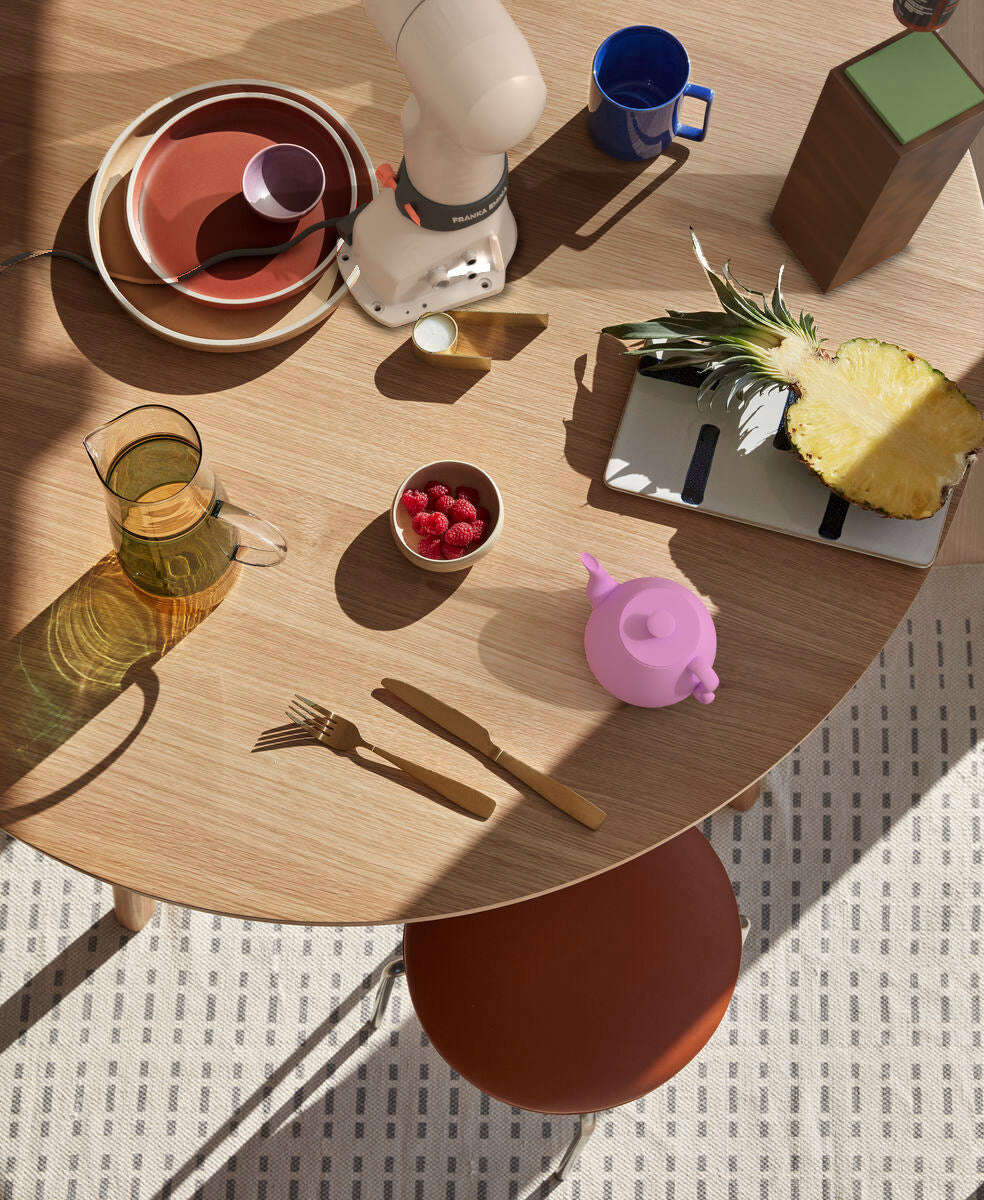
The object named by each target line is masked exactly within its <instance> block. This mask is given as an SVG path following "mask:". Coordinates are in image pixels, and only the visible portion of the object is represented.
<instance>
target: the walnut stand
mask: <svg viewBox="0 0 984 1200" xmlns="http://www.w3.org/2000/svg"><path fill="white" fill-rule="evenodd" d="M913 32H915V31H913V30H910V29H908V28H907V27H906V29H903V30H902V31H900V32H898V33H895V34H894V35H892V36H891V37H888V38H887V39H885V40H883V41H881V42H879V43H877V44H876V45H874V46H872V47H870V48H868V49H866V50H865V51H863V52H860V53H859V54H857V55H855V56H853V57H851V58H849V59H847V60H846V61H844V62H842V63H840V64H838V65H836V66H834V67H832V68H830V70H829V71H828V75H827V77H826V79H825V82H824V83H823V86H822V89H821V91H820V94H819V95H818V98H817V100H816V101H817V102H816V103H815V106H814V109H813V111H812V112H811V113H812V114H811V116H810V118H809V121H808V123H807V126H806V128H805V130H804V132H803V136H802V137H801V140H800V143H799V145H798V148H797V150H796V153H795V154H794V157H793V160H792V163H791V165H790V167H789V170H788V172H787V175H786V177H785V180H784V182H783V185H782V187H781V190H780V192H779V194H778V197H777V200H776V202H775V205H774V207H773V209H772V212H771V214H770V217H769V219H768V220H769V222H770V223H771V224H772V226H773V227H774V229H775V230H776V231H777V233H778V234H779V235H780V236H781V239H783V240H784V242H785V243H786V244H787V246H788V247H789V249H790V250H791V251H792V252H793V254H794V255H795V256H796V257H797V259H798V261H800V264H801V265H802V266H803V267H804V268H805V269H806V271H807V272H808V274H809V275H810V276H811V277H812V279H813V280H814V281H815V283H816V284H817V285H818V287H819V289H821V291H822V292H823V294H824V295H826V294H828V293H829V292H831V291H833V290H836V289H837V288H838V287H840V286H842V285H844V284H845V283H847V282H849V281H851V280H853V279H854V278H856V277H858V276H860V275H861V274H863V273H865V272H867V271H869V270H870V269H872V268H874V267H875V266H877V265H879V264H881V263H884V261H886V260H888V259H890V258H892V257H893V256H895V255H897V254H899V253H900V252H902V251H904V250H905V249H906V248H907V246H908V245H909V243H910V241H912V239H913V237H914V236H915V234H916V232H917V231H918V229H919V227H920V226H921V224H922V223H923V222H924V219H925V218H926V216H927V215H928V213H929V212H930V210H931V209H932V207H933V206H934V204H935V202H936V200H937V199H938V198H939V196H940V195H941V193H942V191H944V188H945V187H946V186H947V184H948V182H949V180H950V179H951V177H952V176H953V174H954V173H955V171H956V170H957V168H958V166H959V165H960V163H961V161H962V160H963V159H964V157H965V155H966V154H967V152H968V150H969V149H970V148H971V146H972V144H973V143H974V141H975V140H976V138H977V137H978V135H979V133H980V132H981V130H982V129H983V127H984V100H983V101H982V102H980V103H978V104H976V105H975V106H973V107H971V108H969V109H967V110H965V111H964V112H962V113H960V114H958V115H956V116H955V117H953V118H951V119H949V120H947V121H946V122H944V123H942V124H940V125H938V126H936V127H935V128H933V129H931V130H929V131H927V132H926V133H924V134H922V135H920V136H918V137H916V138H915V139H913V140H911V141H909V142H907V143H906V144H904V145H902V144H901V142H900V141H899V140H898V139H897V137H896V136H895V135H894V134H893V132H892V131H891V130H890V129H889V127H888V126H887V125H886V124H885V122H884V121H883V120H882V119H881V117H880V116H879V115H878V114H877V112H876V111H875V110H874V109H873V108H872V106H871V105H870V104H869V103H868V101H867V100H866V99H865V98H864V96H863V95H862V94H861V93H860V91H859V90H858V89H857V88H856V86H855V85H854V84H853V83H852V81H851V80H850V79H849V78H848V77H847V75H846V74H845V73H844V72H845V69H846V68H848V67H849V66H851V65H853V64H855V63H857V62H859V61H861V60H863V59H864V58H866V57H868V56H870V55H872V54H874V53H876V52H877V51H879V50H881V49H883V48H885V47H887V46H889V45H890V44H892V43H894V42H896V41H898V40H900V39H902V38H904V37H905V36H907V35H909V34H911V33H913ZM932 34H933V35H934V36H935V37H936V38H937V40H938V41H939V42H940V43H941V44H942V46H943V47H944V48H945V49H946V50H947V52H948V53H949V54H950V55H951V56H952V57H953V59H954V60H955V61H956V62H957V63H958V65H959V66H960V67H961V68H962V69H963V71H964V72H965V73H966V74H967V75H968V77H969V78H970V79H971V80H972V81H973V82H974V84H975V85H976V86H977V87H978V88H979V90H980V91H981V92H982V93H983V94H984V86H983V85H982V84H981V83H980V82H979V80H978V79H977V78H976V76H974V74H973V73H972V72H971V71H970V69H969V68H968V67H967V66H966V65H965V64H964V63H963V61H962V60H961V59H960V57H959V56H958V55H957V54H956V53H955V52H954V50H953V49H952V48H951V47H950V46H949V45H948V44H947V42H946V41H945V40H944V38H942V36H941V35H940V34H939V33H938V32H937V30H936V31H932Z"/></svg>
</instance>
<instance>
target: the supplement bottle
mask: <svg viewBox="0 0 984 1200" xmlns="http://www.w3.org/2000/svg"><path fill="white" fill-rule="evenodd" d="M960 1H961V0H892V12H893V15H894V16H895V18H896V20H897V21H898V22H899V23H900V25H902V26H903V27H905V28H906V29H907V28H908V29H910V30H913V31H917V32H932V31H936V32H937V31H938V30H940V29H942V28H943V27H945V26H946V25H947V23H948V22H949V21H950V20H951V18H952V17H953V14H954V12H955V11H956V9H957V7H958V5H959V3H960Z"/></svg>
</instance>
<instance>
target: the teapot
mask: <svg viewBox="0 0 984 1200" xmlns="http://www.w3.org/2000/svg"><path fill="white" fill-rule="evenodd" d="M579 556H580V557H579V558H580V561H581V563H582V564H583V566H584V567H585V569H586V570H587V572H588V580H587V582H586V583H587V584H586V588H585V589H586V590H585V594H586V598H587V599H588V602H589V604H590V605H591V607H592V611H591V613H590V615H589V617H588V619H587V623H586V625H585V630H584V637H583V639H584V640H583V646H584V653H585V658H586V661H587V664H588V666H589V669H590V670H591V673H592V674H593V676H594V678H595V679H596V680H597V682H598V683H599V684H600V686H602V687H603V688H604V689H605V690H606V691H607V692H608V693H609V694H611V695H612V696H613V697H615V698H617V699H618V700H620V701H622V702H624V703H627V704H629V705H631V706H636V707H641V708H648V709H649V708H651V709H655V708H664V707H668V706H673V705H675V704H678V703H680V702H682V701H683V700H685V699H686V698H688V697H689V696H691V695H693V697H694V698H695V699H696V701H698V702H699V703H700V704H702V705H708V704H710V703H712V702H713V701H714V699H715V697H716V695H715V694H714V691H715V690H716V689H717V688H718V687H719V684H720V679H719V676H718V675H717V673H716V672H715V669H713V665H714V662H715V659H716V654H717V631H716V628H715V623H714V620H713V618H712V616H711V613H710V612H709V610H708V608H707V606H706V605H705V604H704V603H703V601H702V600H701V599H700V597H698V596H697V594H695V592H693V591H691V589H689V588H688V587H686V586H685V585H683V584H681V583H679V582H677V581H675V580H671V579H668V578H664V577H659V576H658V577H657V576H644V577H643V576H642V577H638V578H633V579H630V580H627V581H624V582H622V583H619V582H618V581H617V580H616V579H615V578H613V577H612V576H611V574H609V573H608V572H607V571H606V569H605V568H604V567H603V565H602V564H601V562H600V561H599V560H598V559H597V558H596V557H595V556H594V555H592V554H591V553H589V552H586V551H582V552H581V553H580V555H579Z"/></svg>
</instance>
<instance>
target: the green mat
mask: <svg viewBox="0 0 984 1200" xmlns="http://www.w3.org/2000/svg"><path fill="white" fill-rule="evenodd" d="M844 73H845V74H846V75H847V77H848V78H849V79H850V80H851V81H852V83H853V84H854V85H855V86H856V88H857V89H858V90H859V91H860V93H861V94H862V95H863V96H864V98H865V99H866V100H867V101H868V103H869V104H870V105H871V106H872V108H873V109H874V110H875V111H876V112H877V114H878V115H879V116H880V117H881V119H882V120H883V121H884V122H885V124H886V125H887V126H888V127H889V129H890V130H891V131H892V132H893V134H894V135H895V136H896V137H897V139H898V140H899V141H900V142H901V144H902V145H904V144H906V143H907V142H909V141H911V140H913V139H915V138H916V137H918V136H920V135H922V134H924V133H926V132H927V131H929V130H931V129H933V128H935V127H936V126H938V125H940V124H942V123H944V122H946V121H947V120H949V119H951V118H953V117H955V116H956V115H958V114H960V113H962V112H964V111H965V110H967V109H969V108H971V107H973V106H975V105H976V104H978V103H980V102H982V101H983V100H984V94H983V93H982V92H981V91H980V90H979V88H978V87H977V86H976V85H975V84H974V82H973V81H972V80H971V79H970V78H969V77H968V75H967V74H966V73H965V72H964V71H963V69H962V68H961V67H960V66H959V65H958V63H957V62H956V61H955V60H954V59H953V57H952V56H951V55H950V54H949V53H948V52H947V50H946V49H945V48H944V47H943V46H942V44H941V43H940V42H939V41H938V40H937V38H936V37H935V36H934V35H933V34H932V32H917V31H915V32H913V33H911V34H909V35H907V36H905V37H904V38H902V39H900V40H898V41H896V42H894V43H892V44H890V45H889V46H887V47H885V48H883V49H881V50H879V51H877V52H876V53H874V54H872V55H870V56H868V57H866V58H864V59H863V60H861V61H859V62H857V63H855V64H853V65H851V66H849V67H848V68H846V69H845V72H844Z"/></svg>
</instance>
